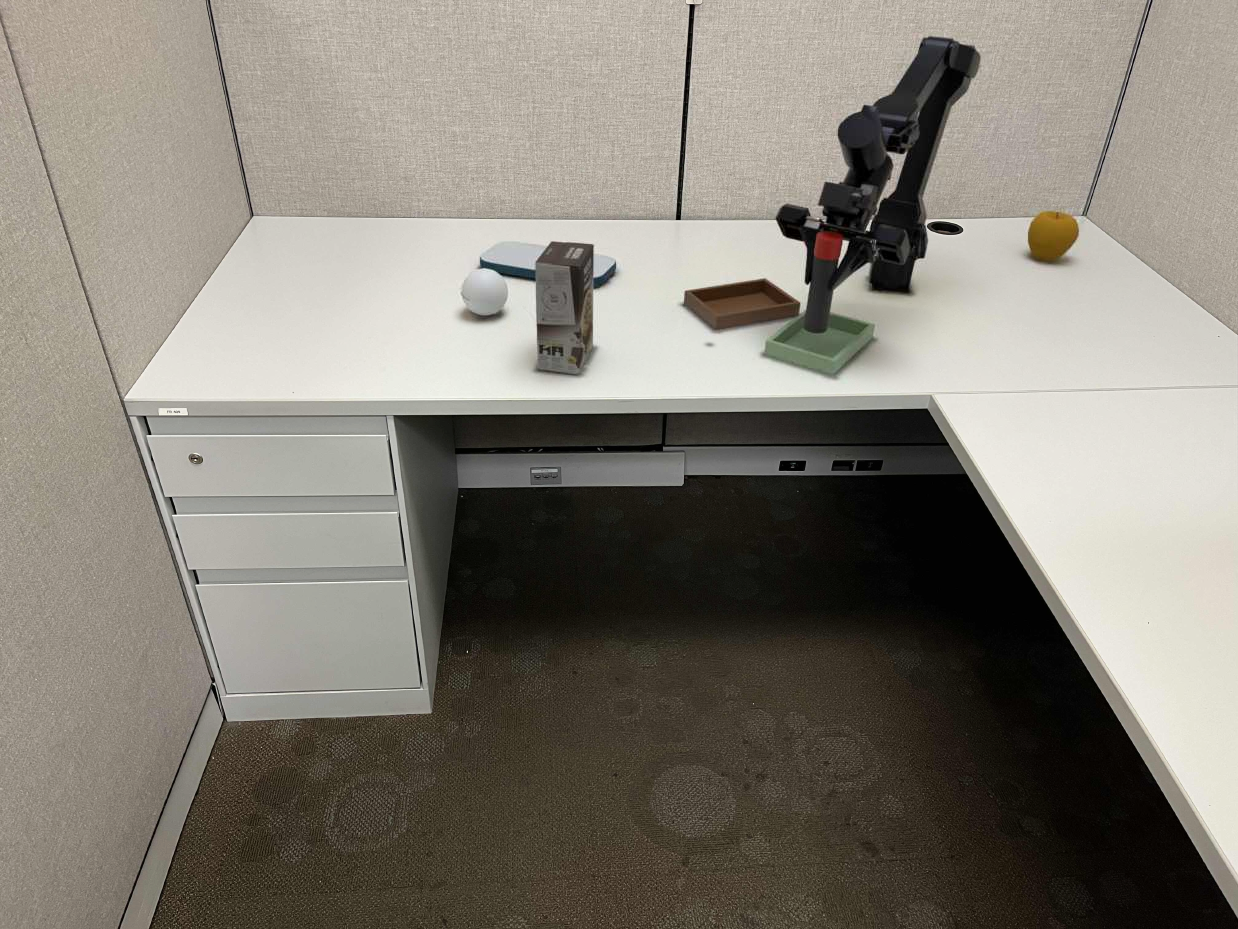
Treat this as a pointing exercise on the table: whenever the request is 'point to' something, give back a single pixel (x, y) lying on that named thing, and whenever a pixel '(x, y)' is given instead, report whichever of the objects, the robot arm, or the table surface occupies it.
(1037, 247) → the apple
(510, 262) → the blue white rounded slab
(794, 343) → the green tray
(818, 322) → the thermos
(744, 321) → the walnut tray
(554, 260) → the coffee box
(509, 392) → the table surface
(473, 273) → the white rounded piece
